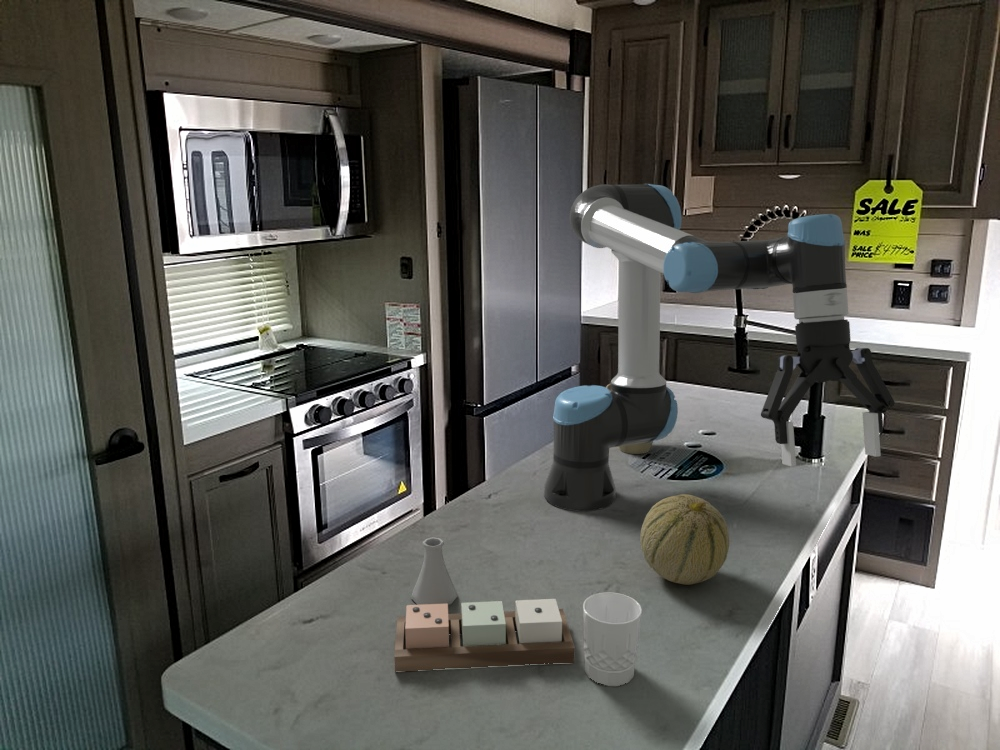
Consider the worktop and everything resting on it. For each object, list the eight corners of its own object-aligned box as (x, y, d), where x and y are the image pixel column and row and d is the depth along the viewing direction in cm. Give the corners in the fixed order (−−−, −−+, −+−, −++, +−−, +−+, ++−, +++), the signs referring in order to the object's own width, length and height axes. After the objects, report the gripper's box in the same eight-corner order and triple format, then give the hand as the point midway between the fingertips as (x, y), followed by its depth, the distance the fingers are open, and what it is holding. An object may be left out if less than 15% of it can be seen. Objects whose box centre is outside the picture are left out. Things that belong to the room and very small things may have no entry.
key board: (398, 631, 116) (397, 616, 115) (562, 623, 118) (562, 608, 117) (395, 672, 106) (394, 656, 105) (574, 663, 108) (574, 647, 107)
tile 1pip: (515, 619, 115) (515, 599, 114) (555, 617, 115) (555, 597, 114) (519, 643, 109) (519, 622, 108) (561, 641, 109) (562, 620, 108)
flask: (434, 581, 130) (432, 527, 127) (466, 596, 125) (465, 540, 123) (402, 599, 124) (400, 543, 122) (435, 615, 120) (433, 557, 117)
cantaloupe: (652, 550, 141) (656, 473, 137) (734, 568, 134) (741, 489, 130) (626, 587, 128) (630, 504, 124) (715, 609, 121) (722, 522, 118)
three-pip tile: (407, 624, 113) (406, 603, 112) (448, 622, 114) (447, 602, 113) (405, 648, 107) (405, 627, 107) (448, 646, 108) (448, 625, 107)
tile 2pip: (461, 622, 114) (461, 601, 113) (501, 620, 114) (501, 599, 113) (463, 646, 108) (462, 624, 107) (505, 644, 109) (505, 622, 108)
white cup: (631, 654, 110) (635, 591, 108) (643, 689, 103) (647, 623, 100) (577, 654, 110) (579, 592, 108) (585, 690, 102) (587, 624, 100)
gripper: (754, 326, 110) (765, 472, 111) (914, 311, 113) (923, 454, 114) (731, 327, 117) (742, 465, 118) (882, 314, 121) (891, 448, 121)
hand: (831, 460), depth 116 cm, fingers open, 13 cm apart
